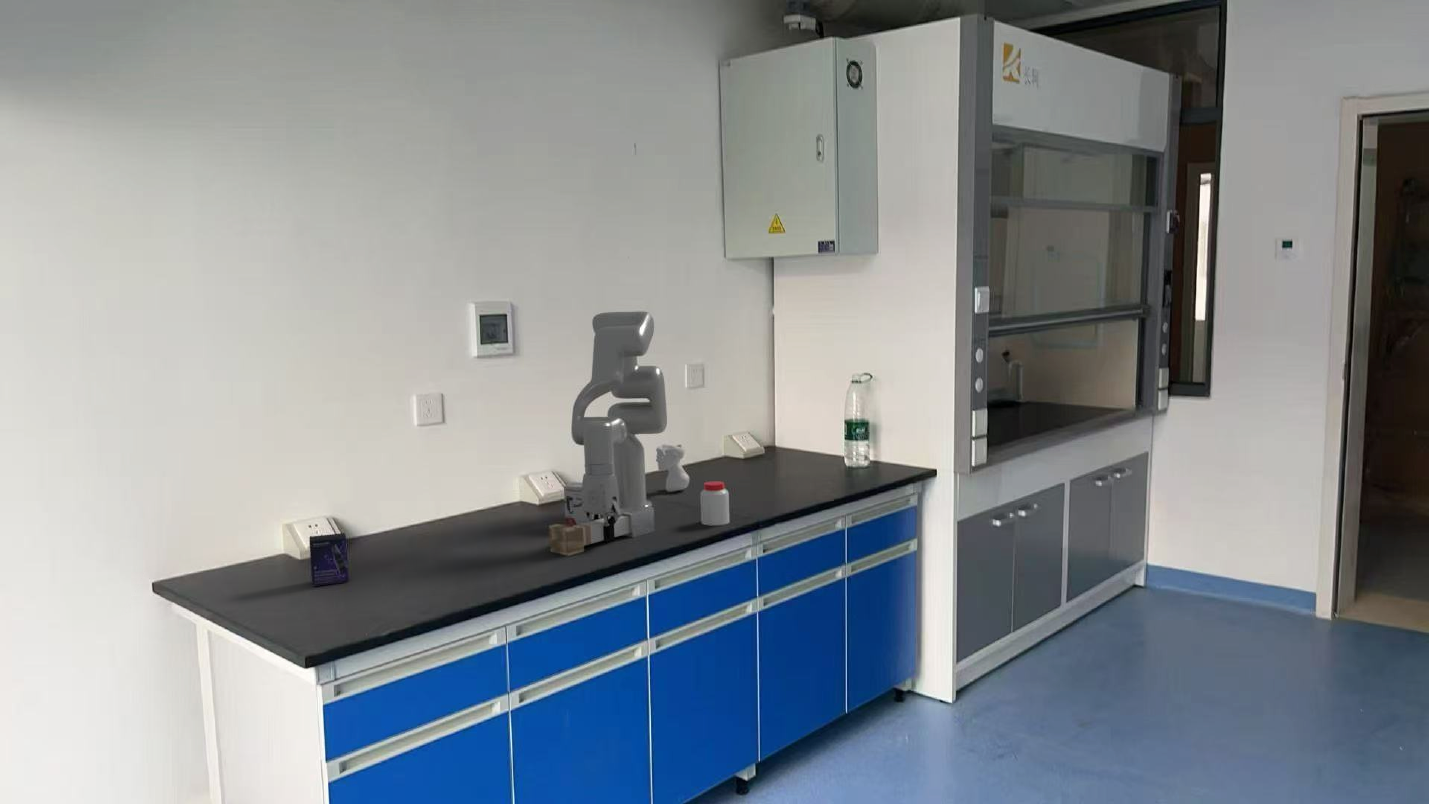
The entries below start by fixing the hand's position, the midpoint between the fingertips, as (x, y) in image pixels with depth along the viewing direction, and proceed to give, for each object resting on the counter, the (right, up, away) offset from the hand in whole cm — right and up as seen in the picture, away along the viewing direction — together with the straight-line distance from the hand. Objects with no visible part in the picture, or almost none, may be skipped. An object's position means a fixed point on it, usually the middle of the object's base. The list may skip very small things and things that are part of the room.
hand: (603, 538), depth 261 cm
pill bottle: (+29, +2, +17) cm, 34 cm away
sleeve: (+8, 0, +9) cm, 12 cm away
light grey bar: (+2, -1, +2) cm, 3 cm away
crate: (-8, -2, -9) cm, 12 cm away
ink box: (-8, +1, +18) cm, 20 cm away
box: (-60, -6, -29) cm, 66 cm away
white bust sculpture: (+15, +6, +62) cm, 64 cm away
